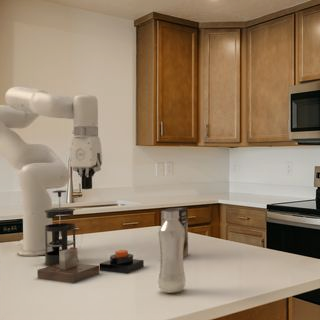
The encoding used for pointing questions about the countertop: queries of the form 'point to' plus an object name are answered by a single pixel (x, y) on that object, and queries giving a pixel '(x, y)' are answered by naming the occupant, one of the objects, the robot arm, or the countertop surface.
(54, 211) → the french press
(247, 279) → the countertop surface
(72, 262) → the bar knob
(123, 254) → the button
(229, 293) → the countertop surface
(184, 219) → the coffee box
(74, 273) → the dial panel
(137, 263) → the button box
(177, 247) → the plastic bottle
